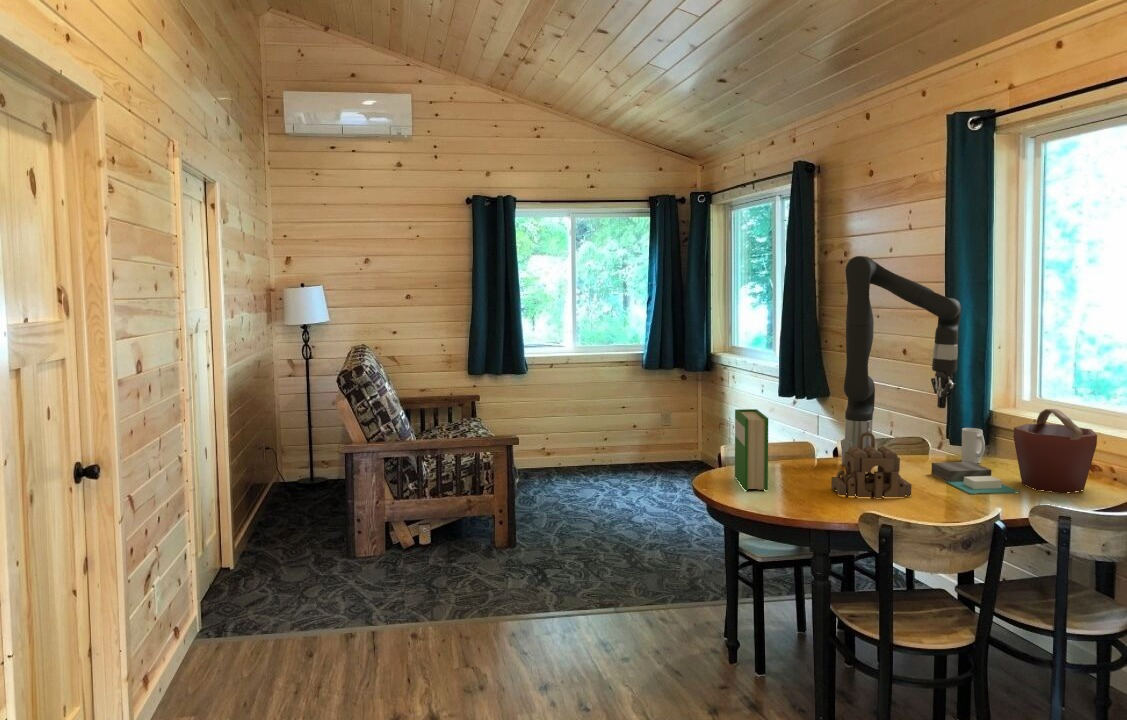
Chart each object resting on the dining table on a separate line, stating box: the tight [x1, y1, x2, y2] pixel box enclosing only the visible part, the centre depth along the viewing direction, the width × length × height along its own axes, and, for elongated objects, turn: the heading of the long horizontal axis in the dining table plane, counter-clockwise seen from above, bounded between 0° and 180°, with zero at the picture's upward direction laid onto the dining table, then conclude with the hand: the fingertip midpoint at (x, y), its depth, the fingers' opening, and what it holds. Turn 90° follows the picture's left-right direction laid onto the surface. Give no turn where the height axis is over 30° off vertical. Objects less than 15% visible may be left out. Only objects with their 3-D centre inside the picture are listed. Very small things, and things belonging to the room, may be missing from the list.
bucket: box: [1012, 408, 1098, 494], centre depth 256 cm, size 24×22×25 cm
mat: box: [944, 481, 1021, 495], centre depth 258 cm, size 16×15×1 cm
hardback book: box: [734, 408, 769, 491], centre depth 265 cm, size 18×7×24 cm, turn 178°
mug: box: [961, 427, 986, 464], centre depth 291 cm, size 10×7×12 cm, turn 9°
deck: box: [930, 461, 992, 482], centre depth 270 cm, size 14×12×4 cm
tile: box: [964, 475, 1003, 489], centre depth 258 cm, size 9×6×2 cm, turn 93°
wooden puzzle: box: [830, 432, 912, 499], centre depth 253 cm, size 22×15×19 cm, turn 86°
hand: (941, 407), depth 272 cm, fingers closed
